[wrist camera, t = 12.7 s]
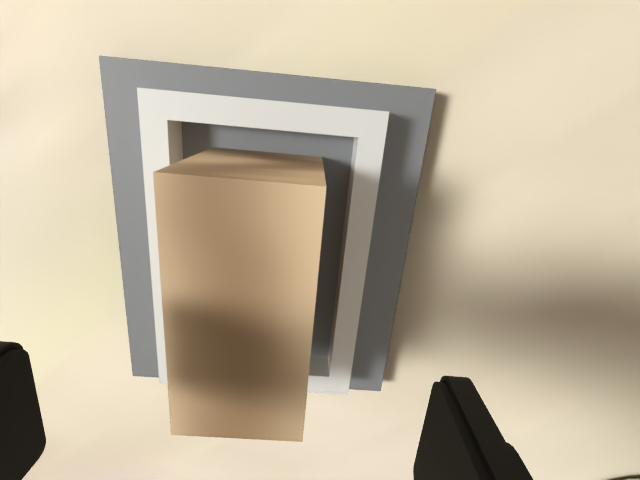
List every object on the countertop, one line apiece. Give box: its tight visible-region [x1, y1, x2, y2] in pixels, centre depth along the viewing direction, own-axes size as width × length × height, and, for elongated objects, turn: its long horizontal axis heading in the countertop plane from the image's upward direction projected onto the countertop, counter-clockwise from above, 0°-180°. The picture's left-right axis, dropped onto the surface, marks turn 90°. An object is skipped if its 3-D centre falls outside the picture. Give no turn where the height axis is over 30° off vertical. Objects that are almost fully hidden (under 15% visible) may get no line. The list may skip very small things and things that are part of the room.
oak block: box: [153, 147, 327, 442], centre depth 14 cm, size 4×9×6 cm, turn 175°
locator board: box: [99, 56, 436, 395], centre depth 16 cm, size 15×13×2 cm
